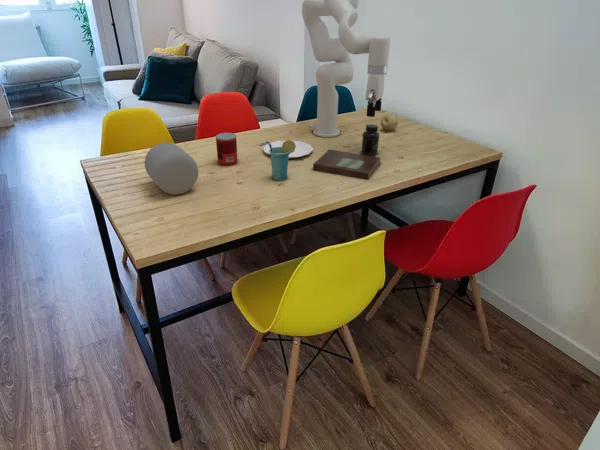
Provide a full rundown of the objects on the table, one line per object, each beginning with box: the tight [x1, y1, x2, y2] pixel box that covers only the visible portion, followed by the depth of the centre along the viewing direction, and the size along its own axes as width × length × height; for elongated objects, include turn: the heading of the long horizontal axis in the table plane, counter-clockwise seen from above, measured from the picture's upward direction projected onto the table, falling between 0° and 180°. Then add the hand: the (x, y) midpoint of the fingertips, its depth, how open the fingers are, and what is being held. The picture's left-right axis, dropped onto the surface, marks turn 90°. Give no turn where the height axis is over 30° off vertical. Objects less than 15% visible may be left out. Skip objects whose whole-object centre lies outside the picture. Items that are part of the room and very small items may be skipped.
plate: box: [262, 139, 314, 159], centre depth 191 cm, size 21×21×2 cm
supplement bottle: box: [360, 123, 380, 156], centre depth 188 cm, size 7×7×12 cm
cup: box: [259, 139, 296, 181], centre depth 163 cm, size 14×8×15 cm, turn 122°
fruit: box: [380, 113, 399, 132], centre depth 217 cm, size 8×8×8 cm
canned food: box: [215, 132, 238, 167], centre depth 177 cm, size 8×8×11 cm
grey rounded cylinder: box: [144, 142, 199, 196], centre depth 157 cm, size 19×15×25 cm
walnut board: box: [312, 149, 381, 180], centre depth 177 cm, size 22×18×3 cm
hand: (373, 113), depth 182 cm, fingers open, 9 cm apart
